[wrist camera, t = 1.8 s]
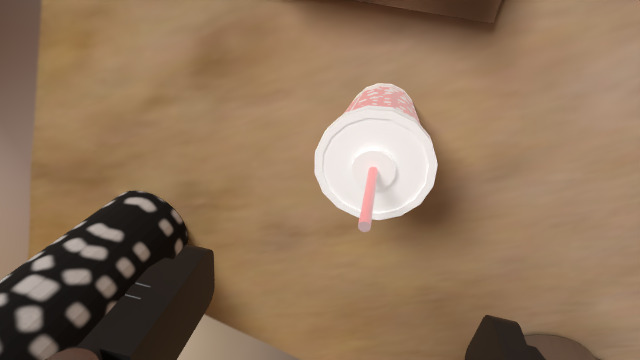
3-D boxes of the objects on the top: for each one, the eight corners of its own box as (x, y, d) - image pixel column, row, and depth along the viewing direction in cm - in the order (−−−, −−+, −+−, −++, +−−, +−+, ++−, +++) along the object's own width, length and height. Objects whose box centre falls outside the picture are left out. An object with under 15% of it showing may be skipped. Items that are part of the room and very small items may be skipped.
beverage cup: (365, 166, 27) (337, 303, 15) (324, 99, 26) (255, 194, 13) (440, 131, 25) (478, 261, 13) (401, 54, 23) (401, 119, 11)
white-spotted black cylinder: (203, 247, 35) (11, 494, 18) (146, 266, 38) (-64, 492, 21) (152, 179, 32) (-134, 392, 15) (95, 205, 35) (-196, 407, 18)
